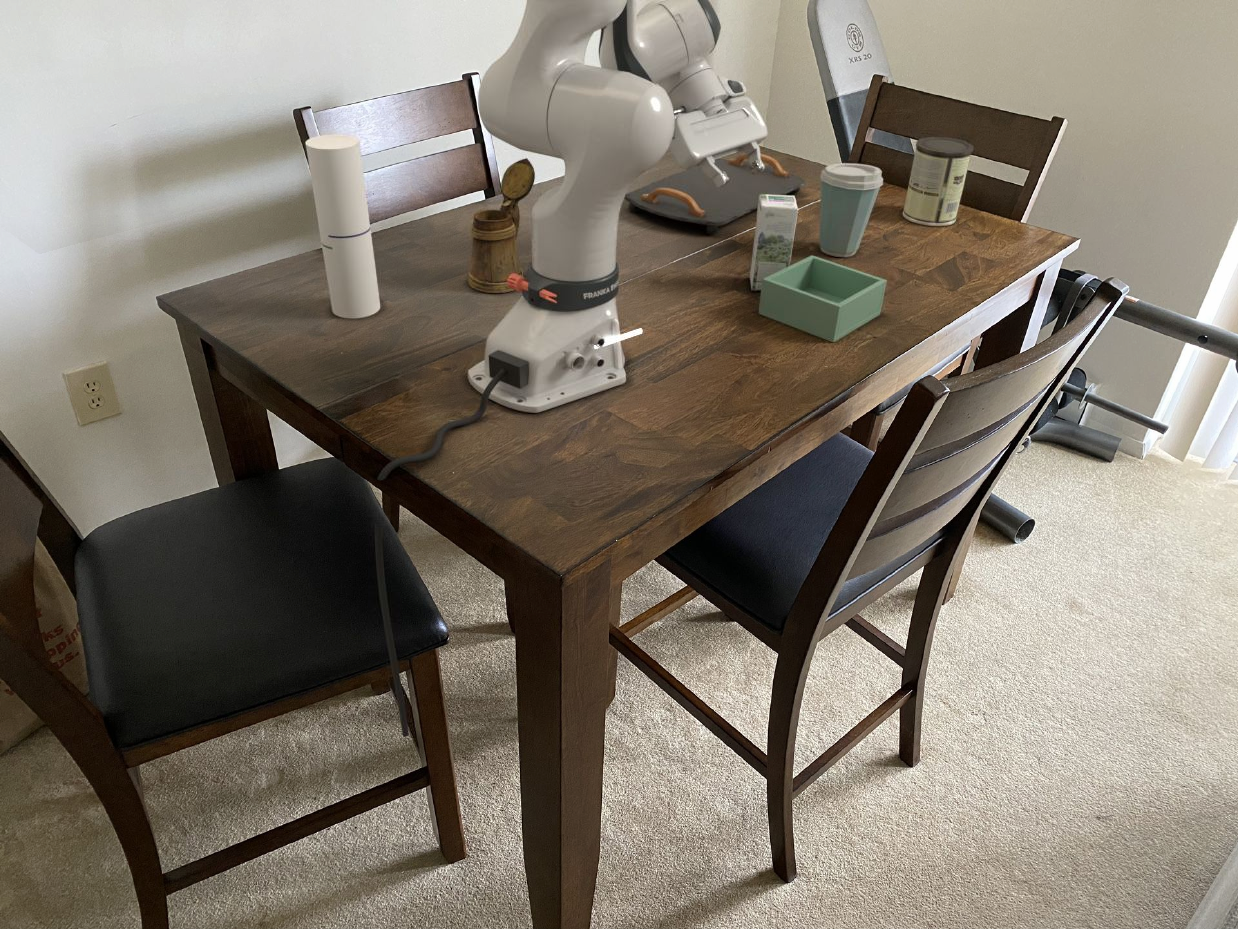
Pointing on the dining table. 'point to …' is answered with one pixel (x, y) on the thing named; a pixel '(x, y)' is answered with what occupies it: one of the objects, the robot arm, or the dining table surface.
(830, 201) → the disposable coffee cup
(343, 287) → the cylindrical container
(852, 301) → the open storage box
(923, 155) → the coffee can
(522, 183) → the wooden mug
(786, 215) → the syrup box
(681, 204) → the serving tray
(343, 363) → the dining table surface
